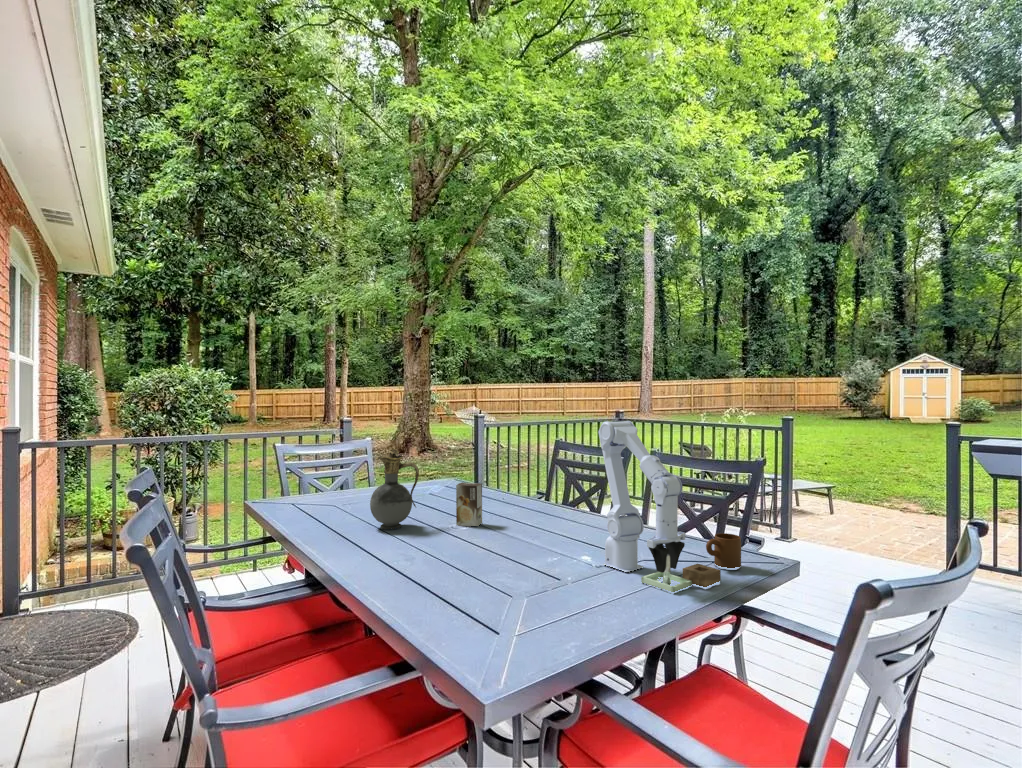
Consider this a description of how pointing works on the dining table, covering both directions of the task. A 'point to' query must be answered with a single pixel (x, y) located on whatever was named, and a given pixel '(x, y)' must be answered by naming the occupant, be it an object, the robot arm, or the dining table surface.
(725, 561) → the mug
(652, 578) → the tray
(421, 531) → the dining table surface
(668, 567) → the pin
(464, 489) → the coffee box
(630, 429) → the robot arm
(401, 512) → the pitcher
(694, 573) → the walnut block
